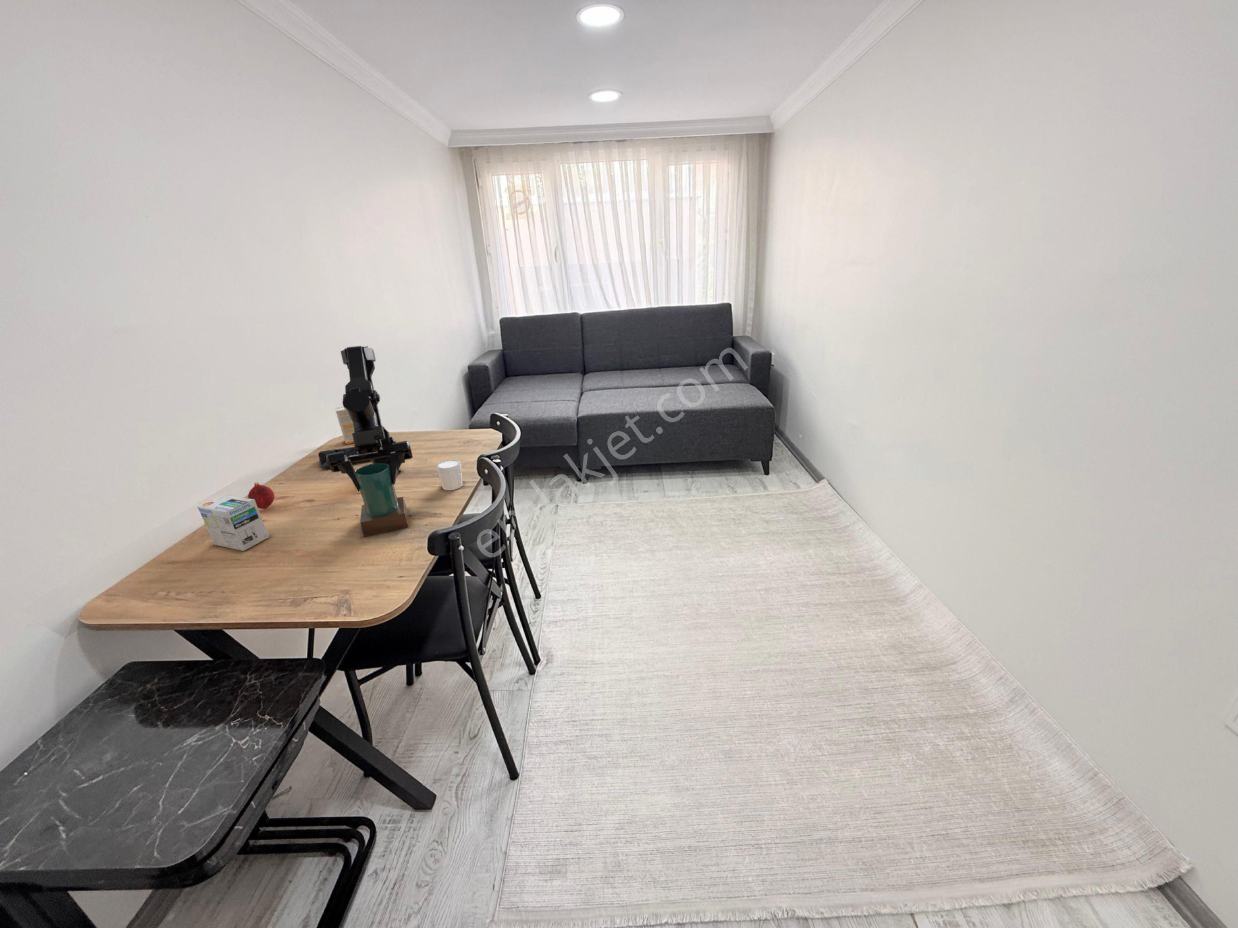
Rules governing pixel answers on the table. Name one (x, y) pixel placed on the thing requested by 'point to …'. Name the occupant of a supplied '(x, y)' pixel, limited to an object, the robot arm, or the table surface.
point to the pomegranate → (261, 495)
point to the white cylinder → (450, 474)
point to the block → (384, 520)
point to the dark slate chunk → (324, 453)
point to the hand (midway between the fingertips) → (376, 487)
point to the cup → (377, 489)
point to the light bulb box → (233, 522)
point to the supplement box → (345, 424)
